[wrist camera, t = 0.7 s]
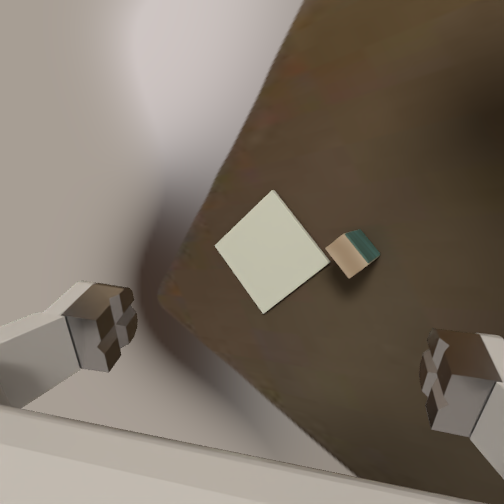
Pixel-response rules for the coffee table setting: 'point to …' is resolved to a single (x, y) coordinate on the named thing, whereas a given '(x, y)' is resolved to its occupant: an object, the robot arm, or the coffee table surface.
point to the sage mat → (271, 252)
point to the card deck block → (353, 252)
